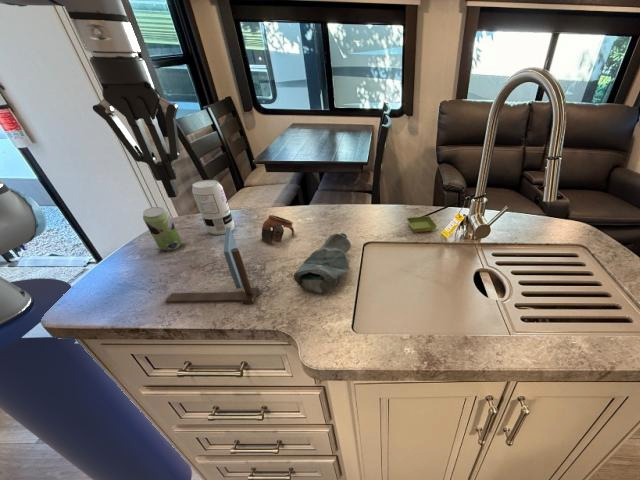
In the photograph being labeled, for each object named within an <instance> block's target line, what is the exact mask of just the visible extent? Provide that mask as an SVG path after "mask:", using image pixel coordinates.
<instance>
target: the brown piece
mask: <svg viewBox="0 0 640 480" xmlns="http://www.w3.org/2000/svg"><path fill="white" fill-rule="evenodd" d="M293 224H294V223H293V222H292V221H291V220H289V219H287V218H284V217H281V216H277V215H273V214H269V215H268V218H267V219H266V220H265V221H264V222H263V223H262V226H261V241H262V242H263V243H265V244H268V245H273V242H275V243H281V242H282V240H283V235H284V232H285V230H284V229H285V228H287V229H289V230H290V231H291V236H292V237H294V236H295V229H294V227H293Z"/></svg>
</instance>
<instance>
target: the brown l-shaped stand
mask: <svg viewBox="0 0 640 480" xmlns="http://www.w3.org/2000/svg"><path fill="white" fill-rule="evenodd" d="M231 253H232V256H233V259H234V262H235V265H236V268H237V270H238V273H239V276H240V279H241V286H242V287H243V290H244V291H229V292H228V291H227V292H173V293H171V294H170V295H169V296H168V297H167V299H165V303H166V304H172V303H174V304H175V303H177V304H179V303H184V304H185V303H225V302H227V303H228V302H231V303H233V302H235V303H236V302H242V304H243V305H254V304H255V302H256V300H257V298H258V296H259V293H260V288H259V287H252V286H251V283H250V280H249V276H248V274H247V270H246V268H245V265H244V261H243V258H242V255H241V252H240V249H239V248H238V247H237V248H234V249H232V250H231Z"/></svg>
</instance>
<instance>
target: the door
mask: <svg viewBox="0 0 640 480" xmlns="http://www.w3.org/2000/svg"><path fill="white" fill-rule="evenodd" d="M234 248H238V245H237V243H236V240H235V237H234V234H233V230H231V227H227V228H226V234H224V244H223V255H224V258H225V260H226V264H227V266H228V269H229V271H230V274H231V278H232V280H233V284H234V286H235V288H236V290H238V289H242V282H241V279H240V276H239V273H238V270H237V268H236V265H235V262H234V259H233V256H232V253H231V250H232V249H234Z"/></svg>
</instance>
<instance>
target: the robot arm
mask: <svg viewBox="0 0 640 480" xmlns="http://www.w3.org/2000/svg"><path fill="white" fill-rule="evenodd" d="M0 4H2V5H8V6H18V7H28V6H41V7H43V6H49V7H50V6H51V7H52V6H54V7H56V6H57V7H58V6H59V7H64V9H65V11H66V12H67V14H68V17H69V18H70V22H71V23H72V25H73V28H74V30H75V32H76V35H77V36H78V38H79V41H80V43H81V46H82V47H83V49H84V52H85V51H86V52H87V53H90V54H91V56H89V63H90V64H91V67H92V69H93V72H94V74H95V76H96V78H97V80H98V82H99V84H100V86H101V89H102V93H101V95H102V98H103V99H102V100H101V101H99V102H98V103H97V104H94V105H93V106H92V111H93V112H95V114H97V115H98V116H100V117H101V118H102V119H103V120H104V121H105V122H106V123H107V125H108V126H109V127H110V129H111V130H112V131H113V133H114V134H115V136H116V137H117V138H118V139H119V141H120V142H121V144H122V145H123V146H124V148H125V149H126V151H127V152H128V153H129V154H130V156H131V157H132V159H133V161H135V162H138V163H145V164H147V165H148V167H149V169H150V171H151V173H152V176H153V178H154V180H155V181H157V182H160V181H161V183H162V186H163V189H164V191H165V193H166V195H167V198H169V199H171V198H177V197H178V196H179V195H180V191H179V189H178V187H177V184H176V182H175V181H176V180H177V178H178V173H177V171H176V168H175V164H174V162H173V161H177V160H178V159H179V158H180V156H181V150H180V142H179V133H178V126H177V125H178V124H177V117H176V116H177V113H178V110H179V105H178V104H177V103H176V102H171V101H169V100H167V99H165V98H163V97H162V96H161V93H160V92H159V91H158V90H157V88H156V86H155V85H154V83H153V80H152V77H151V74H150V71H149V69H148V67H147V64H146V62H145V59H143V58H142V57H139V54H141V51H142V50H141V48H140V45H139V43H138V39H137V37H136V35H135V32H134V30H133V27H132V25H131V22H130V20H129V18H128V15H127V13H126V10H125V8H124V5H123V1H122V0H0ZM160 106H161V110H162V112H163V113H164V114H165V126H166V133H167V140H168V141H167V142H168V146H167V143H166V140H165V138H164V136H163V133H162V131H161V128H160V126H159V123H158V119H157V114H158V110H159V108H160ZM115 110H116V111H117V112H119V113H120V115H122V116H123V117H125V120H126V121H127V124H128V125H129V127H130V128H131V130H132V133H133V135H134V137H135V139H136V140H134V138H133V137H132V135H131V134H130V133H129V131H128V130H127V128H126V127H125V125H124V124H123V122H121V119H120V118H118V116H117V114H115ZM143 122H144V124H145V125H146V127H147V129H148V132H149V134H150V137H151V139H152V141H153V143H154V146H155V148H156V151H157V154H158V155H159V158H160V160H159V161H158V157H157V156H156V153H155V150H154V148H153V146H152V144H151V141H150V139H149V137H148V134H147V131H146V130H145V129H146V128H145V127H144V125H143ZM168 147H169V148H168ZM46 227H47V218H46V216H45V213H44V211H43V209H42V208H41V207H40V205H39V204H38V202H36V200H35V199H33V198H32V197H31V196H28V195H26V193H25V192H23V191H21V190H19V189H16V188H11V187H8V186H7V185H6V184H5V182H4V181H2V180H0V256H2V255H4V254H6V253H9V252H10V251H13V250H14V249H16V248H18V247H20V246H23V245H26V244H28V243H30V242H32V241H33V240H34V239H36V238H37V237H39V236H41V235H42V234H43V233H44V232H45V230H46ZM11 282H12V281H9V280H7V279H6V278H4V277H2V276H0V327H2V326H5V325H7V324H9V323H11V322H13V321H14V320H16V319H18V318H19V317H21V316H22V315H24V314H25V313H26V312H27V311H29V310H30V308H31V307H32V306H33V303H34V300H33V298H32V297H31V296H30V295H29V294H28V293H27V292H26V291H24V290H23V289H21V288H19V287H17V286H16V285H14V284H12V283H11Z"/></svg>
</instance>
